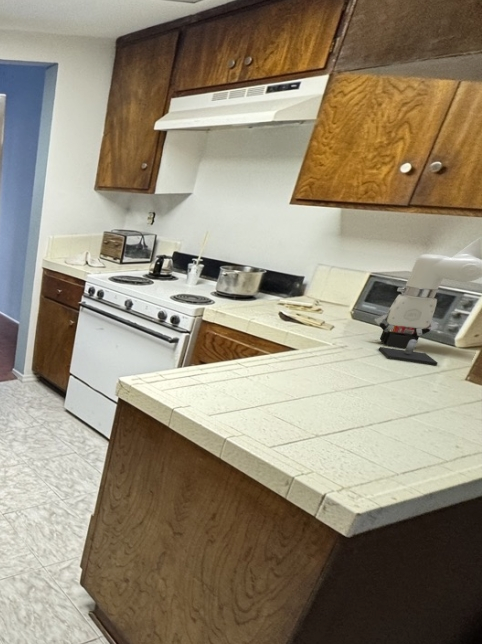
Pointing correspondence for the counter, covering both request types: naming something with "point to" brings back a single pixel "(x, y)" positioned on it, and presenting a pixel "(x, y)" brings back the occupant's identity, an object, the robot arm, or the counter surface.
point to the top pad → (398, 339)
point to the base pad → (408, 354)
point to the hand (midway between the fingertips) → (396, 343)
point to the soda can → (402, 329)
